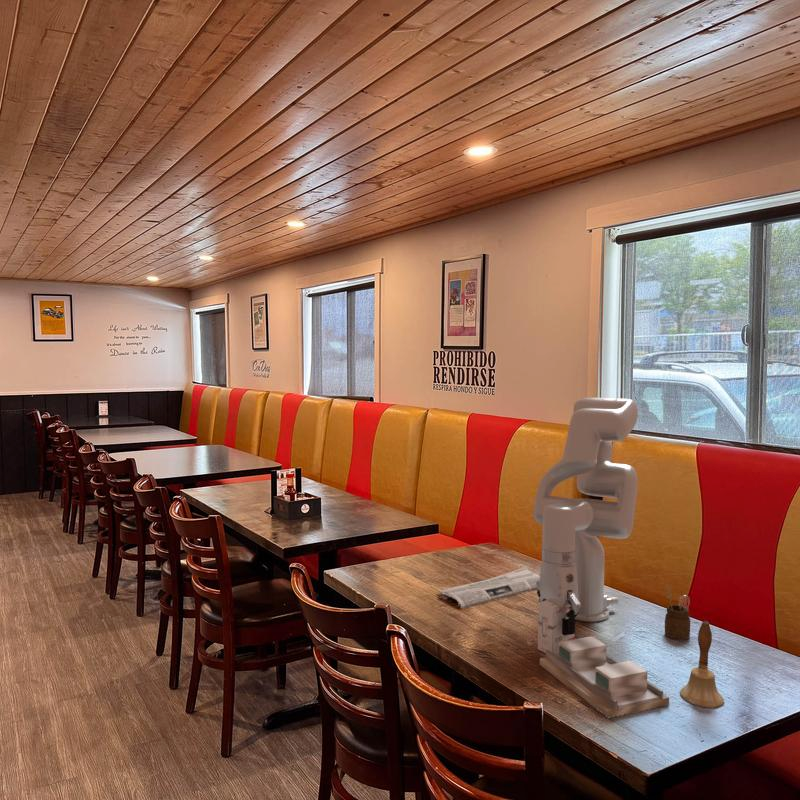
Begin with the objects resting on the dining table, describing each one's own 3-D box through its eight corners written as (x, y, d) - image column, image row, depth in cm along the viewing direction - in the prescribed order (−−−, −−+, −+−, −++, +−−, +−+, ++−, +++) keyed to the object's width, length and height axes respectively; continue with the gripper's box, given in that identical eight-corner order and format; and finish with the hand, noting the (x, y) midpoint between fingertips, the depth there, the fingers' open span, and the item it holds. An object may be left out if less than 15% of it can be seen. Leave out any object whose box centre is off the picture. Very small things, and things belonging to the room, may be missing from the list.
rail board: (594, 654, 155) (595, 629, 155) (669, 704, 133) (670, 675, 132) (539, 664, 150) (540, 638, 149) (607, 718, 127) (608, 688, 127)
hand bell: (711, 687, 140) (713, 614, 139) (732, 707, 132) (735, 630, 131) (672, 687, 140) (675, 614, 139) (691, 708, 131) (694, 630, 130)
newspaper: (461, 610, 183) (461, 598, 183) (434, 597, 194) (434, 585, 193) (551, 587, 203) (551, 576, 202) (522, 576, 213) (522, 565, 213)
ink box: (559, 640, 163) (560, 593, 162) (575, 647, 159) (576, 599, 158) (536, 649, 158) (537, 601, 157) (553, 657, 154) (553, 607, 153)
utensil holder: (680, 642, 162) (682, 594, 161) (658, 633, 167) (659, 587, 167) (695, 637, 165) (696, 590, 165) (672, 628, 171) (674, 583, 170)
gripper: (594, 565, 150) (592, 638, 151) (551, 545, 166) (549, 611, 167) (566, 568, 148) (564, 643, 149) (525, 547, 164) (524, 615, 165)
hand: (556, 626), depth 158 cm, fingers open, 9 cm apart
